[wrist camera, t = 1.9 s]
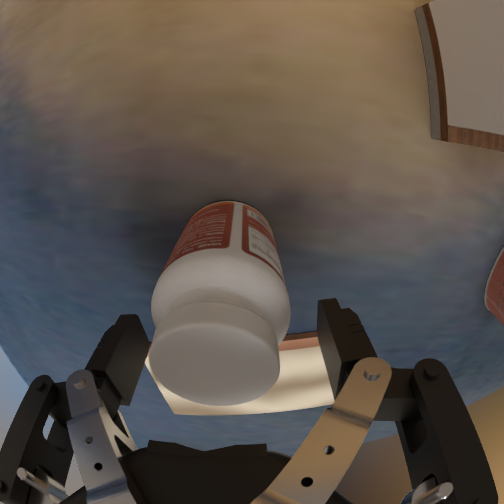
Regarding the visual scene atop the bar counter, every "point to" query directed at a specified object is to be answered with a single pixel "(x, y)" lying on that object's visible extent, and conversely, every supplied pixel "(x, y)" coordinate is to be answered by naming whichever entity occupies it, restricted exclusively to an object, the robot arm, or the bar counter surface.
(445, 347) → the bar counter surface
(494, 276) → the canned food
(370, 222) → the bar counter surface
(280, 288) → the pill bottle
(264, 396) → the board
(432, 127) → the white square tower
